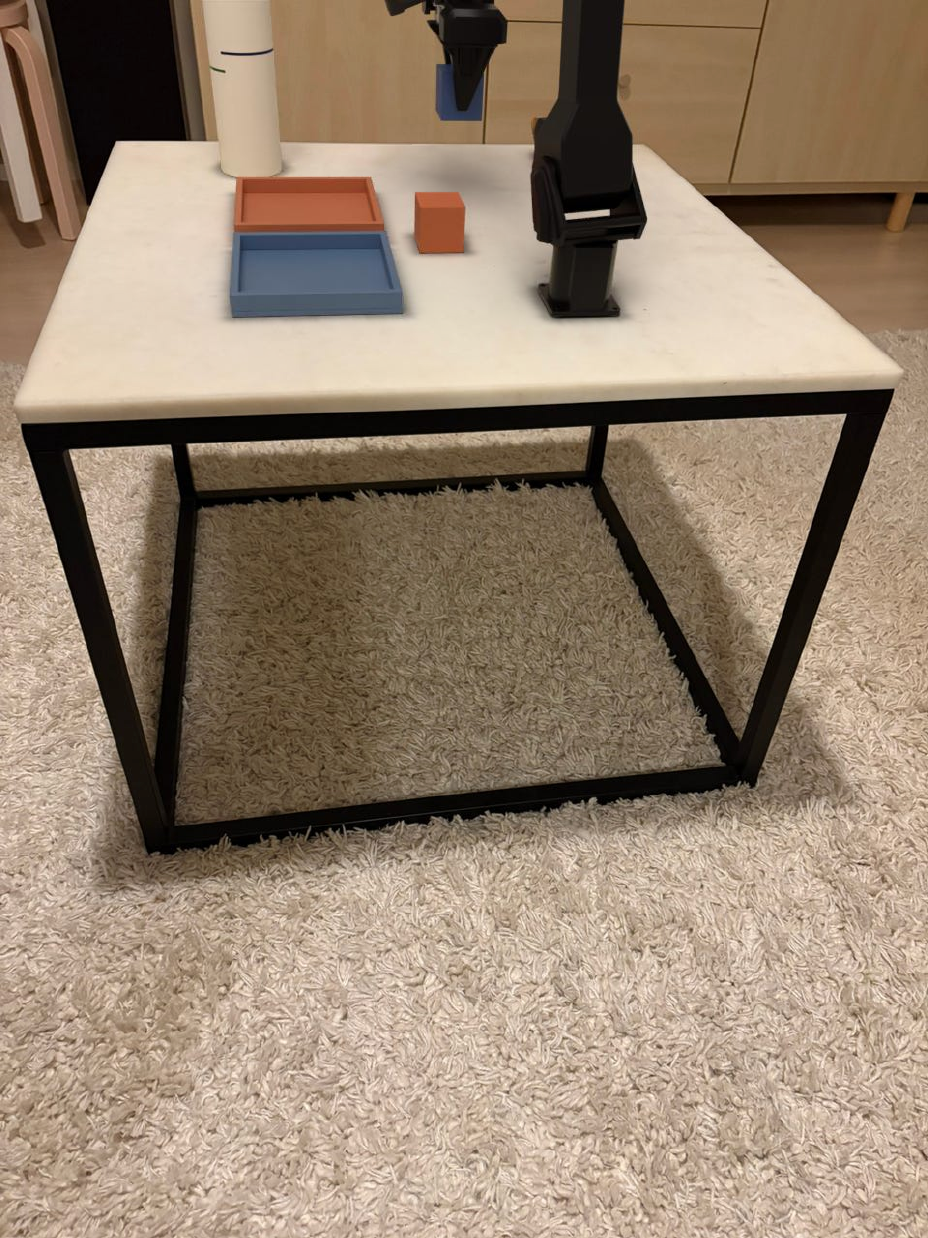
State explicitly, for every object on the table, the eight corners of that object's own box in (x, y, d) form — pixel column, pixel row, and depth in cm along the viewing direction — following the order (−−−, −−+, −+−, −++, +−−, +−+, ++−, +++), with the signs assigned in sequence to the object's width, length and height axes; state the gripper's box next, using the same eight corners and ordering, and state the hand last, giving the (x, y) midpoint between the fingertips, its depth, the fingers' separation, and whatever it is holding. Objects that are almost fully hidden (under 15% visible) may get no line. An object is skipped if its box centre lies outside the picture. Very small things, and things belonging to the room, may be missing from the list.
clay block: (463, 252, 96) (465, 206, 93) (419, 253, 95) (420, 206, 92) (456, 236, 99) (458, 191, 96) (414, 236, 98) (414, 191, 95)
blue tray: (402, 313, 84) (402, 291, 83) (232, 317, 82) (229, 294, 80) (386, 250, 95) (386, 230, 94) (235, 252, 93) (233, 232, 91)
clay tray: (384, 243, 96) (384, 223, 95) (235, 244, 94) (233, 224, 93) (371, 194, 107) (371, 176, 106) (238, 195, 105) (236, 176, 104)
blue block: (482, 120, 101) (484, 73, 98) (440, 120, 100) (441, 72, 97) (475, 110, 104) (477, 64, 101) (435, 110, 104) (436, 63, 101)
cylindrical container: (270, 180, 109) (247, -87, 93) (211, 174, 110) (179, -93, 93) (290, 163, 115) (272, -93, 98) (235, 156, 115) (208, -99, 99)
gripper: (374, -87, 97) (377, 84, 107) (390, -66, 83) (392, 127, 93) (480, -83, 99) (473, 85, 109) (514, -62, 85) (502, 128, 95)
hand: (458, 104), depth 102 cm, fingers closed on blue block, 4 cm apart
